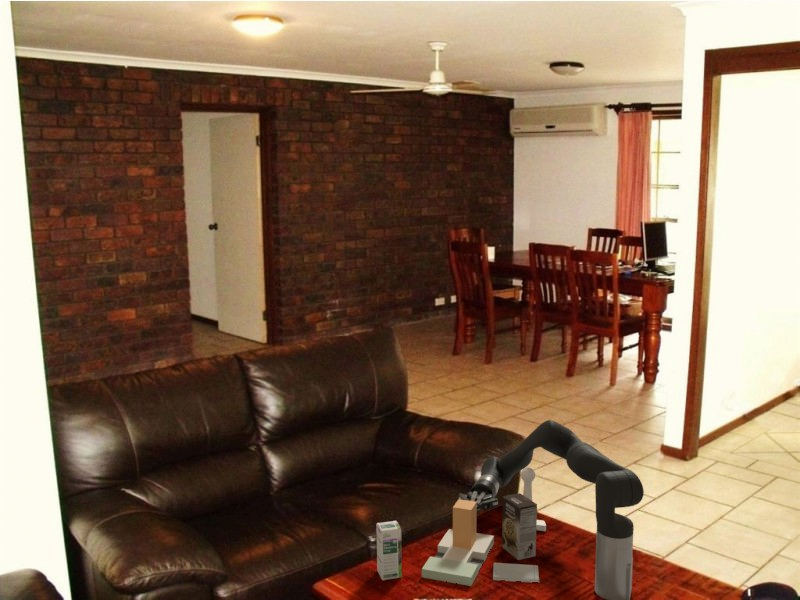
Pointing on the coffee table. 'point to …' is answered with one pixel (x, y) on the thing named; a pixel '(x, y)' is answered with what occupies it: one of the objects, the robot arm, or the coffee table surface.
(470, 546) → the orange block
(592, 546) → the coffee table surface
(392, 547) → the syrup box
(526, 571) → the hard drive
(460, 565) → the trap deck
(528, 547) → the coffee box
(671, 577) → the coffee table surface
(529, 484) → the joystick
